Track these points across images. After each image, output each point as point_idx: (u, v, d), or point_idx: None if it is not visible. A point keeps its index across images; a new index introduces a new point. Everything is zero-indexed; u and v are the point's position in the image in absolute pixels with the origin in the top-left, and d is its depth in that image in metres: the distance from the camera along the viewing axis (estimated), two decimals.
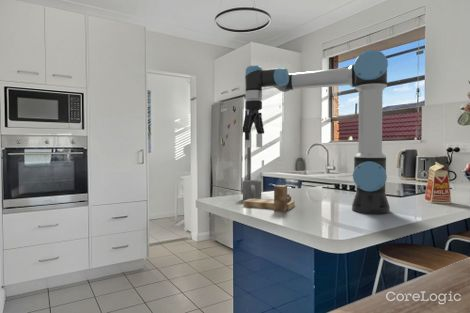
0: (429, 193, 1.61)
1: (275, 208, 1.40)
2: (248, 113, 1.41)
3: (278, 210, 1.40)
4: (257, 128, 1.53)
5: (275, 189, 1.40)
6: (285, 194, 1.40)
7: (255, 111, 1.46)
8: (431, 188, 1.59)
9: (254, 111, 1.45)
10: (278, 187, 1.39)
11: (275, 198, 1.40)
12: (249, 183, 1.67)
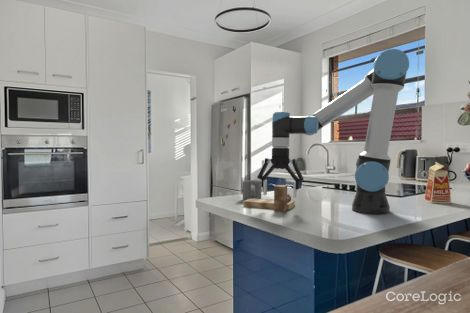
0: (429, 193, 1.61)
1: (275, 208, 1.40)
2: None
3: (278, 210, 1.40)
4: None
5: (275, 189, 1.40)
6: (285, 194, 1.40)
7: (278, 158, 1.40)
8: (431, 188, 1.59)
9: (275, 159, 1.41)
10: (278, 187, 1.39)
11: (275, 198, 1.40)
12: (249, 183, 1.67)
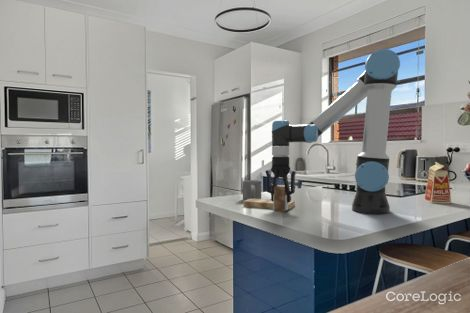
0: (429, 193, 1.61)
1: (275, 208, 1.40)
2: None
3: (278, 210, 1.40)
4: None
5: (275, 189, 1.40)
6: (285, 194, 1.40)
7: (278, 167, 1.40)
8: (431, 188, 1.59)
9: (274, 166, 1.41)
10: (278, 187, 1.39)
11: (275, 198, 1.40)
12: (249, 183, 1.67)
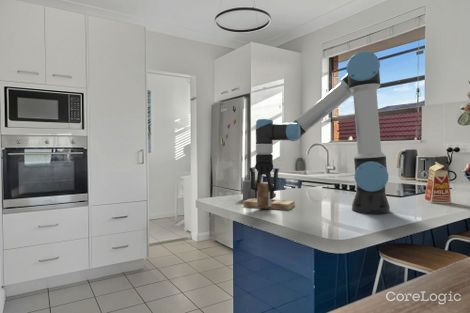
0: (429, 193, 1.61)
1: (258, 204, 1.43)
2: None
3: (261, 206, 1.43)
4: None
5: (258, 186, 1.43)
6: (268, 191, 1.43)
7: (262, 164, 1.44)
8: (431, 188, 1.59)
9: (258, 164, 1.44)
10: (261, 184, 1.42)
11: (258, 195, 1.43)
12: (249, 183, 1.67)
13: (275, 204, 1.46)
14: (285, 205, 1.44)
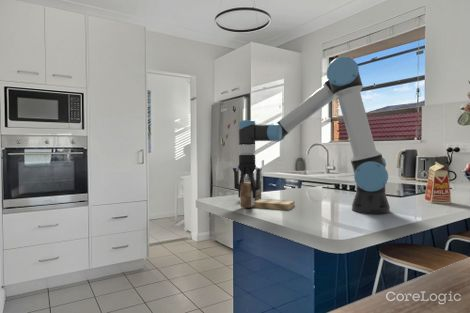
0: (429, 193, 1.61)
1: (241, 204, 1.47)
2: None
3: (244, 206, 1.46)
4: None
5: (241, 186, 1.46)
6: (251, 190, 1.47)
7: (244, 165, 1.47)
8: (431, 188, 1.59)
9: (241, 164, 1.48)
10: (244, 184, 1.46)
11: (241, 194, 1.46)
12: None
13: (275, 204, 1.46)
14: (285, 205, 1.44)
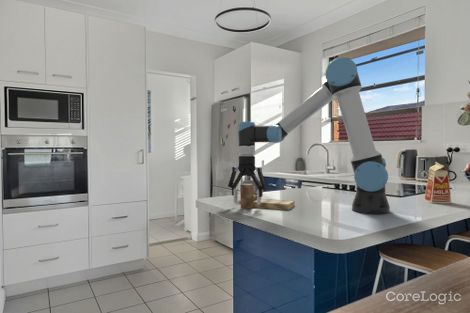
0: (429, 193, 1.61)
1: (241, 205, 1.47)
2: None
3: (244, 207, 1.46)
4: None
5: (241, 187, 1.46)
6: (251, 192, 1.47)
7: (244, 166, 1.47)
8: (431, 188, 1.59)
9: (241, 166, 1.48)
10: (244, 185, 1.46)
11: (241, 196, 1.47)
12: (249, 183, 1.67)
13: (275, 204, 1.46)
14: (285, 205, 1.44)
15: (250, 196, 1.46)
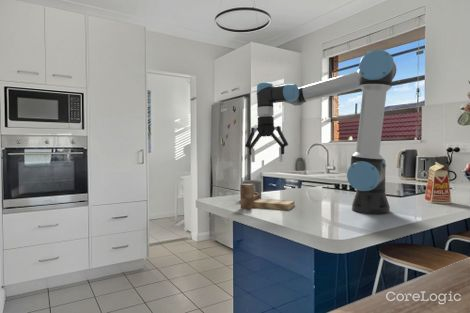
0: (429, 193, 1.61)
1: (241, 205, 1.47)
2: None
3: (244, 207, 1.46)
4: None
5: (241, 187, 1.46)
6: (251, 192, 1.47)
7: (263, 127, 1.50)
8: (431, 188, 1.59)
9: (261, 127, 1.51)
10: (244, 185, 1.46)
11: (241, 196, 1.47)
12: (249, 183, 1.67)
13: (275, 204, 1.46)
14: (285, 205, 1.44)
15: (250, 196, 1.46)
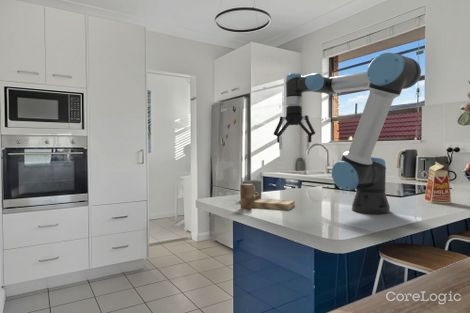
0: (429, 193, 1.61)
1: (241, 205, 1.47)
2: None
3: (244, 207, 1.46)
4: (305, 130, 1.56)
5: (241, 187, 1.46)
6: (251, 192, 1.47)
7: (292, 116, 1.57)
8: (431, 188, 1.59)
9: (289, 116, 1.58)
10: (244, 185, 1.46)
11: (241, 196, 1.47)
12: (249, 183, 1.67)
13: (275, 204, 1.46)
14: (285, 205, 1.44)
15: (250, 196, 1.46)
